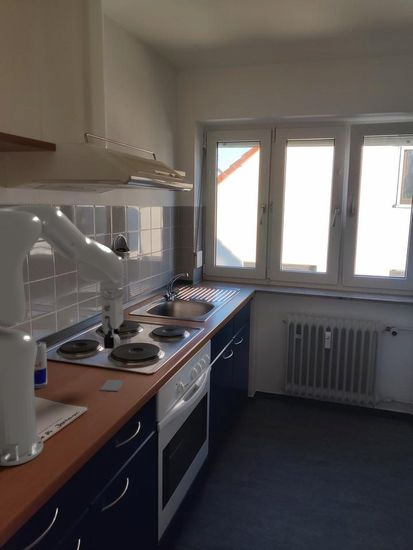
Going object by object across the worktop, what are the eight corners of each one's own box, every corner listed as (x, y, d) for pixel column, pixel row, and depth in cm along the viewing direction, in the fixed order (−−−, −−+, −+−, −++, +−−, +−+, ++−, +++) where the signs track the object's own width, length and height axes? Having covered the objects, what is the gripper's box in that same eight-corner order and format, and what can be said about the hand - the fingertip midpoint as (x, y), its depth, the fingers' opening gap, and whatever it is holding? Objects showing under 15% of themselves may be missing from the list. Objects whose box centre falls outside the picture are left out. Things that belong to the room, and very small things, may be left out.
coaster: (117, 391, 143) (117, 390, 143) (100, 390, 144) (100, 389, 144) (124, 381, 151) (124, 380, 151) (107, 380, 151) (107, 379, 151)
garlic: (106, 343, 148) (106, 329, 147) (122, 344, 148) (122, 329, 147) (101, 349, 142) (101, 334, 141) (117, 350, 142) (117, 335, 141)
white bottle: (29, 385, 146) (27, 343, 144) (43, 381, 150) (42, 340, 147) (35, 390, 142) (33, 347, 140) (50, 385, 146) (48, 343, 144)
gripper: (115, 299, 133) (115, 354, 136) (129, 288, 150) (129, 337, 153) (91, 298, 134) (92, 353, 137) (108, 287, 151) (108, 336, 154)
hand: (112, 344), depth 145 cm, fingers closed on garlic, 6 cm apart
